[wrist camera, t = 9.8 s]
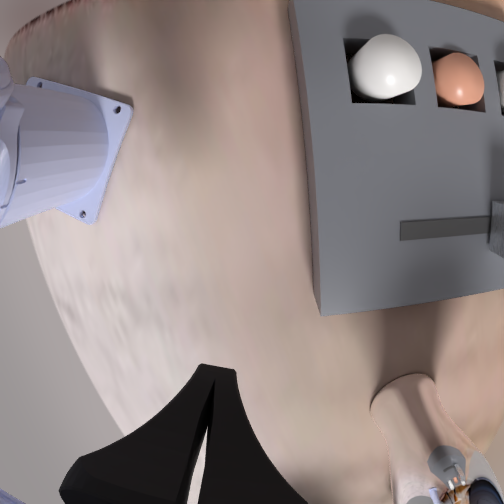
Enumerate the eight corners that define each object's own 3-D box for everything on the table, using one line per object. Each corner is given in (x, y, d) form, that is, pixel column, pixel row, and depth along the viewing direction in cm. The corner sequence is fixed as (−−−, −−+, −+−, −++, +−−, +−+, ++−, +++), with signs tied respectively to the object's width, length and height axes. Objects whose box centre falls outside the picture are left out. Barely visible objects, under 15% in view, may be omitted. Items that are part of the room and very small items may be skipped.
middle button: (419, 106, 16) (446, 101, 13) (413, 61, 16) (438, 48, 12) (457, 110, 16) (487, 106, 13) (451, 67, 15) (479, 57, 12)
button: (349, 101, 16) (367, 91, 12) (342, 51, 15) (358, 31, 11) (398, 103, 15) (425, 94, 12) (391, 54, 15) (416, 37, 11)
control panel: (313, 293, 20) (321, 317, 18) (287, 9, 15) (291, -14, 12) (521, 266, 19) (544, 279, 16) (513, 42, 14) (538, 35, 11)
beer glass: (349, 405, 23) (389, 569, 9) (419, 353, 22) (507, 507, 8) (388, 436, 25) (430, 569, 10) (449, 392, 23) (518, 518, 9)
